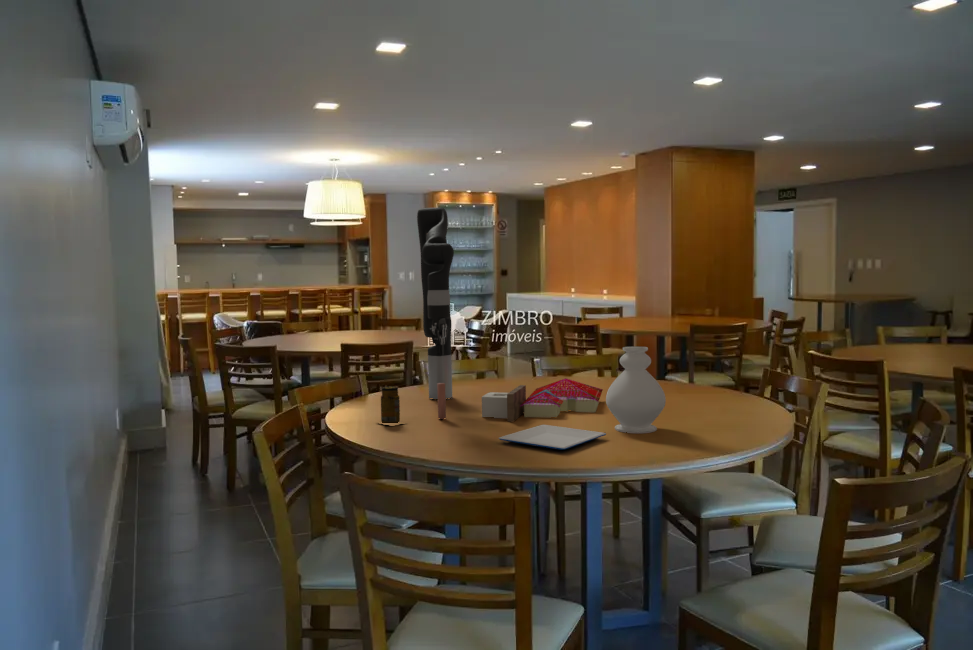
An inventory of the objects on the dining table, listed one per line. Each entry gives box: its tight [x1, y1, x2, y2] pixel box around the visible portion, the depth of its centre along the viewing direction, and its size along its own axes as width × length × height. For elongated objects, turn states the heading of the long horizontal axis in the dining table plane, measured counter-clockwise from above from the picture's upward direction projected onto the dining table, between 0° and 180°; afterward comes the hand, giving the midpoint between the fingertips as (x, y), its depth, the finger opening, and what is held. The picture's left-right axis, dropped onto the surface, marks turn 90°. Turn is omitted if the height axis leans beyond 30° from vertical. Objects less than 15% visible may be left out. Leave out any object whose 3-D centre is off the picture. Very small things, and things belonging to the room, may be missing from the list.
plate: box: [498, 424, 607, 451], centre depth 209 cm, size 22×22×2 cm
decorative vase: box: [605, 346, 667, 434], centre depth 223 cm, size 18×18×25 cm
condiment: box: [380, 385, 401, 423], centre depth 239 cm, size 7×8×12 cm
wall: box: [506, 384, 527, 423], centre depth 248 cm, size 20×2×9 cm, turn 165°
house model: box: [521, 377, 604, 418], centre depth 261 cm, size 38×25×10 cm
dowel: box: [437, 383, 447, 419], centre depth 245 cm, size 3×3×12 cm
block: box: [481, 391, 509, 419], centre depth 250 cm, size 10×10×7 cm
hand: (439, 355), depth 243 cm, fingers closed
